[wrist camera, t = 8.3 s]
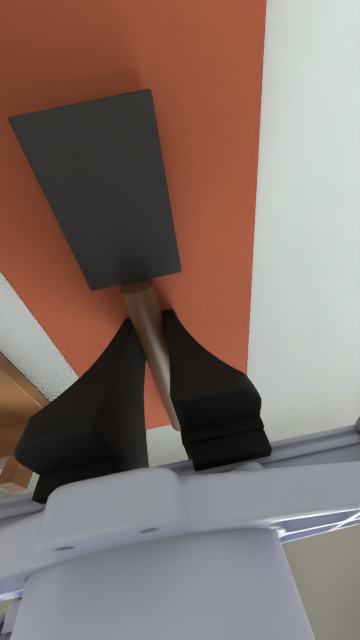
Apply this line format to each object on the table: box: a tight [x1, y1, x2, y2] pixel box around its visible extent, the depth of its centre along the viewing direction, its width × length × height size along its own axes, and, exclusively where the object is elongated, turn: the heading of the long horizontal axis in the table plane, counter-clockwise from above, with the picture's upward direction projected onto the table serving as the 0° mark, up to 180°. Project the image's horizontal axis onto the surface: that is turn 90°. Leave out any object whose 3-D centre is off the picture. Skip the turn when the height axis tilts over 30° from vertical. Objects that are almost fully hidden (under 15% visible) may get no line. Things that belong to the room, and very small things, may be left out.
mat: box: [0, 0, 266, 430], centre depth 13 cm, size 24×12×1 cm, turn 9°
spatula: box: [8, 89, 182, 431], centre depth 12 cm, size 19×4×2 cm, turn 9°
